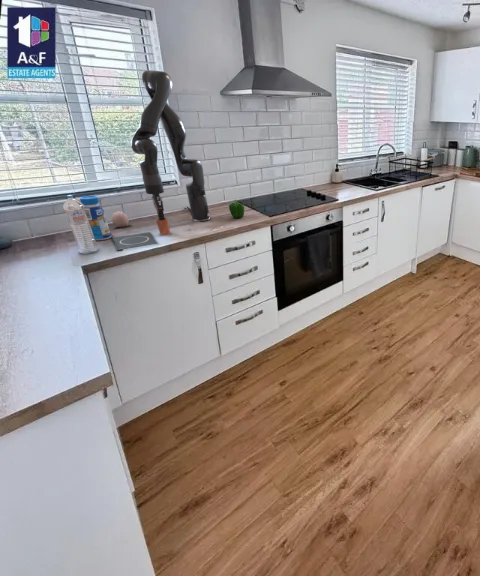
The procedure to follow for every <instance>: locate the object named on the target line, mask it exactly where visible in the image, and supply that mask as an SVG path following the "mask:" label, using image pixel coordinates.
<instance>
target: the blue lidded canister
mask: <svg viewBox="0 0 480 576" xmlns="http://www.w3.org/2000/svg"><path fill="white" fill-rule="evenodd" d="M79 201H80V202H81V203H82V204H83V205H84V209H85V212H86V215H87V218H88V221H89V223H90V226H91V229H92V232H93V235H94V238H95V241H106V240H108V239H111V238H112V236H113V235H112V233H111V230H110V227H109V224H108V220H107V215H106V214H105V209H103V207H102V206H101V205H100V199H99V197H98V196H97V195H85V196H81V197H79Z"/></svg>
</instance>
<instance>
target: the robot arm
mask: <svg viewBox="0 0 480 576" xmlns="http://www.w3.org/2000/svg"><path fill="white" fill-rule="evenodd" d="M141 81H142V84H143V86H144V89H145V91H146V93H147V95H148V97H149V99H150V101H149V103H148V105H147V106H145V108H144V109H143V111H142V113H141V115H140V120H139V124H138V127H137V129H136V131H135V133H134V134H133V136H132V138H131V141H130V146H131V151H133V152H134V153H135V154H137V155H143V156H144V159H142V160H140V161H139V167H140V172H141V177H142V182H143V185H144V190H145V193H146V194H147V195H152V196H151V200H152V205H153V206H154V209H155V210H156V214H157V216H158V215H159V217H158V218H160V219H164V218H166V217H165V214H164V211H165V208H164V202H163V197H162V196H161V195H160V194H163V193H164V192H165V190H164V186H163V182H162V178H161V174H160V170H159V167H158V153H159V152H158V146H157V144H156V142H155V141H154V140H152V139H151V138H153V137H155V136H156V135H157V133H158V128H159V123H161V126H162V128H163V131H164V133H165V135H166V137H167V139H168V143H169V145H170V148H171V150H172V153H173V156H174V159H175V163H176V166H177V169H178V172H179V174H180V175H182V176H183V177H190V178H192V180H191V182H188V183H186V184H185V190H186V194H187V199H188V203H189V204H188V205H189V207H188V206H186V207H187V208H185V207H184V210H189V212H190V213H191V220H192V221H194V222H206V221H208V220H211V216H210V211H209V204H208V200H207V193H206V189H205V177H204V176H205V175H204V169H203V164H202V163H201V161H200V160H198V159H194V158H187V156H186V154H185V143H186V138H187V131H186V129H185V126H184V123H183V121H182V119H181V118H180V116H179V115H178V113H176V112H175V111H174V109H173V108H172V107H171V106H170V105H169V103H168V100H169V98H170V96H171V93H172V90H173V81H172V77H171V76H170V75H169V73H167V72H165V71H162V70H144V71H143V72H142V74H141ZM156 208H157V209H156ZM159 208H161V209H159ZM157 211H158V213H157Z"/></svg>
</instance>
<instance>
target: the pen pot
mask: <svg viewBox="0 0 480 576" xmlns="http://www.w3.org/2000/svg"><path fill="white" fill-rule="evenodd" d="M164 219H165V220H159V217H158V218H156V224H157V228H158V232H159V235H160V236H167V235H170V234H171V227H170V225H169V221H168V218H167V217H165V218H164Z"/></svg>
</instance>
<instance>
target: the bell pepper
mask: <svg viewBox="0 0 480 576" xmlns="http://www.w3.org/2000/svg"><path fill="white" fill-rule="evenodd" d="M228 209H229V212H230V215H231V216H232V218H234V219H238V218H243V217H244V215H245V205H244V203H243V202H241V203H240V202H238V200H237V199H234V202H231V204H229V205H228Z"/></svg>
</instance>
